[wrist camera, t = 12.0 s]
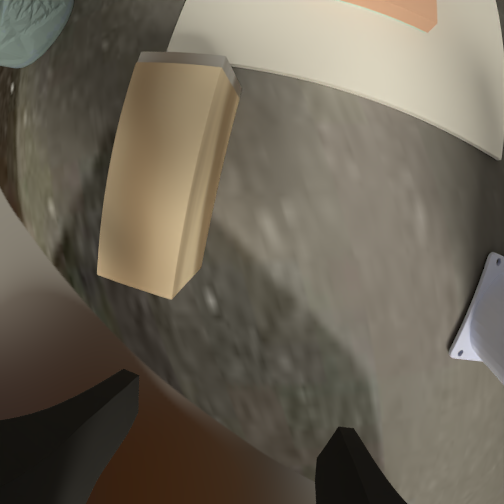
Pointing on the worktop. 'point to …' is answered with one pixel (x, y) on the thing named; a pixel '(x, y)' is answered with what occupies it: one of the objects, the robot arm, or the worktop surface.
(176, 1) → the worktop surface
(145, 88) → the tan wooden block
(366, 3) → the tile
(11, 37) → the teal cup
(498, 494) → the worktop surface
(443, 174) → the worktop surface
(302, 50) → the mat
